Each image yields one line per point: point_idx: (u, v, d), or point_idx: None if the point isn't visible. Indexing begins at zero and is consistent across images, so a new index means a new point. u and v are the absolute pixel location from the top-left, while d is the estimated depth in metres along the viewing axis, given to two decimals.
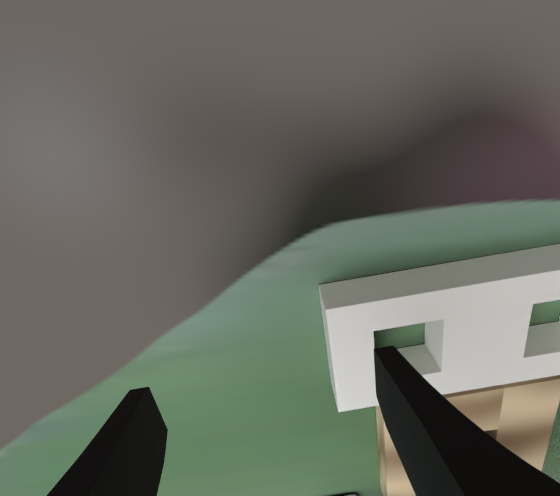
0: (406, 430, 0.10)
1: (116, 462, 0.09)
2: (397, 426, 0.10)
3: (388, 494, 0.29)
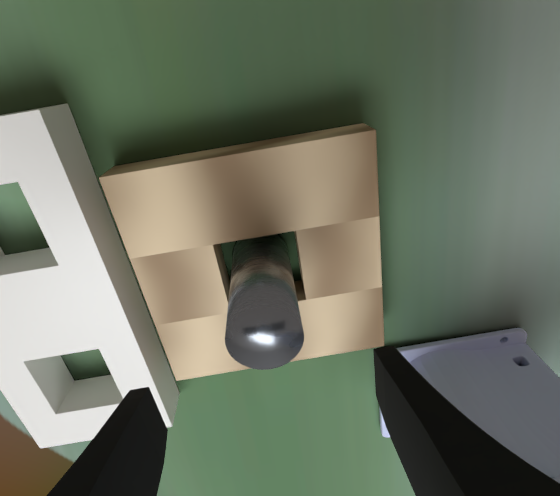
0: (406, 430, 0.10)
1: (116, 462, 0.09)
2: (397, 426, 0.10)
3: (342, 351, 0.21)
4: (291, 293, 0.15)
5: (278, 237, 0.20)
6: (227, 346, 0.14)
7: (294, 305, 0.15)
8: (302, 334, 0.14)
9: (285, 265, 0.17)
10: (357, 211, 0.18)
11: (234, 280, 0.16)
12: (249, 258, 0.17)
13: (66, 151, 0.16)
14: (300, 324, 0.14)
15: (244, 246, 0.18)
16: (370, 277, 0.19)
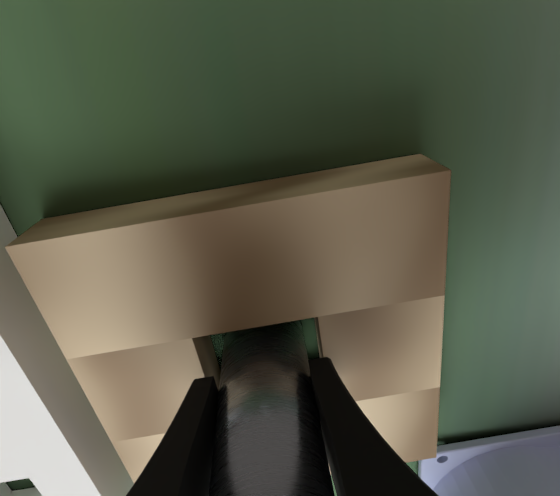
0: (328, 443, 0.10)
1: (197, 448, 0.09)
2: (325, 438, 0.10)
3: None
4: (317, 441, 0.09)
5: None
6: None
7: (323, 474, 0.09)
8: None
9: (303, 373, 0.11)
10: (412, 289, 0.11)
11: (223, 407, 0.10)
12: (246, 364, 0.11)
13: None
14: None
15: (241, 335, 0.12)
16: (424, 375, 0.13)
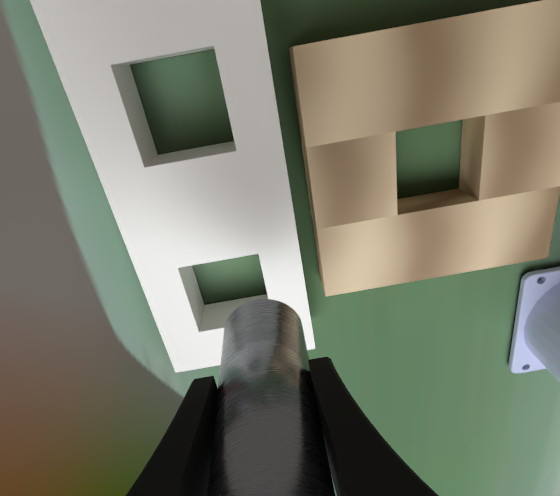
0: (328, 443, 0.10)
1: (197, 448, 0.09)
2: (325, 438, 0.10)
3: (503, 264, 0.20)
4: (318, 438, 0.09)
5: (291, 311, 0.14)
6: None
7: (325, 472, 0.09)
8: None
9: (304, 371, 0.11)
10: (554, 92, 0.16)
11: (224, 401, 0.10)
12: (249, 359, 0.11)
13: None
14: None
15: (242, 331, 0.12)
16: (551, 174, 0.18)
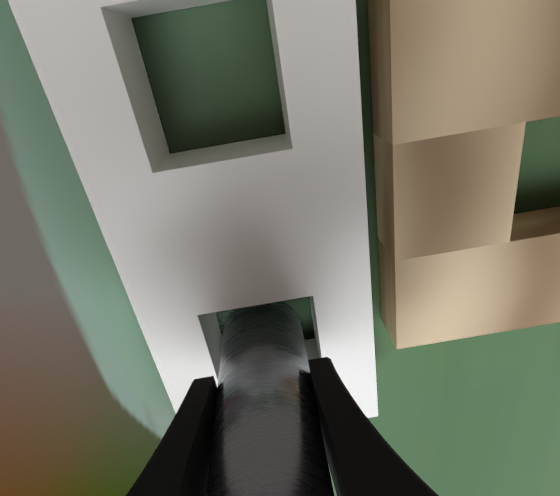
0: (328, 443, 0.10)
1: (197, 448, 0.09)
2: (325, 438, 0.10)
3: None
4: (318, 439, 0.09)
5: (290, 311, 0.14)
6: None
7: (324, 473, 0.09)
8: None
9: (303, 371, 0.11)
10: None
11: (223, 401, 0.10)
12: (248, 359, 0.11)
13: None
14: None
15: (241, 331, 0.12)
16: None
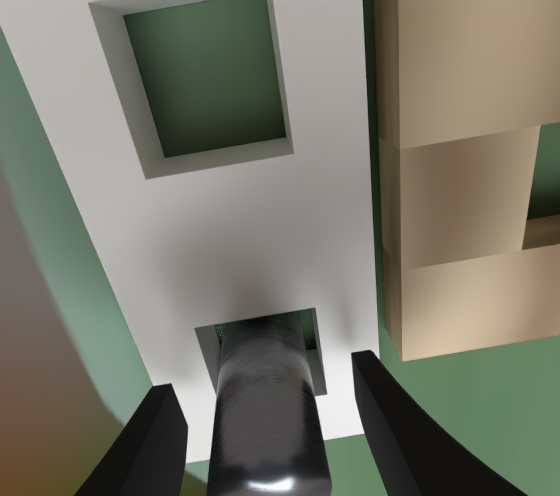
0: (379, 434, 0.10)
1: (144, 457, 0.09)
2: (372, 430, 0.10)
3: None
4: (312, 405, 0.10)
5: None
6: None
7: (317, 433, 0.10)
8: (329, 486, 0.09)
9: (299, 348, 0.12)
10: None
11: (225, 373, 0.11)
12: (248, 337, 0.12)
13: None
14: (328, 473, 0.09)
15: None
16: None
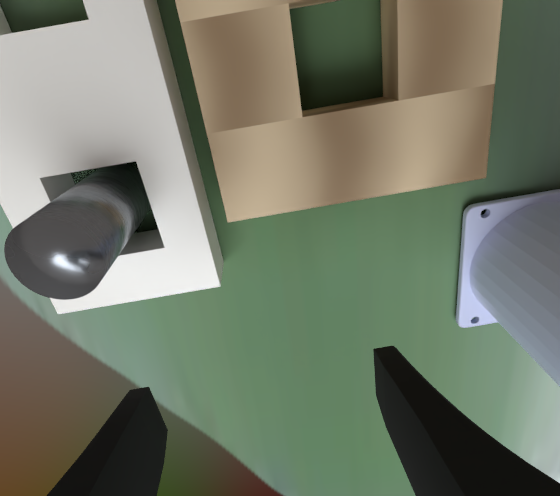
0: (406, 430, 0.10)
1: (116, 462, 0.09)
2: (397, 426, 0.10)
3: (434, 184, 0.17)
4: (108, 215, 0.13)
5: (137, 172, 0.18)
6: (10, 266, 0.12)
7: (99, 225, 0.13)
8: (100, 257, 0.12)
9: (123, 193, 0.15)
10: None
11: None
12: (80, 182, 0.15)
13: None
14: (96, 244, 0.12)
15: None
16: (482, 67, 0.15)
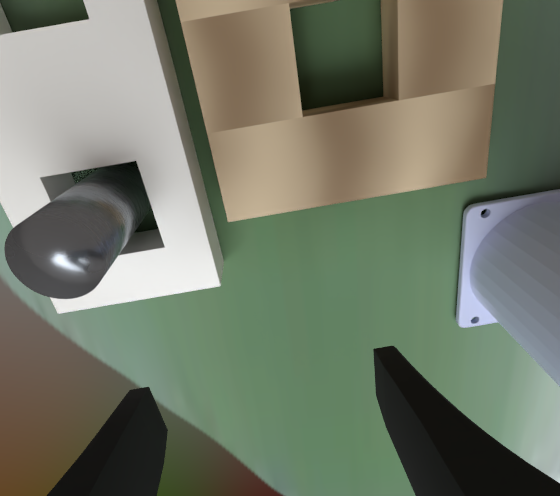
0: (406, 430, 0.10)
1: (116, 462, 0.09)
2: (397, 426, 0.10)
3: (434, 184, 0.17)
4: (108, 215, 0.13)
5: (138, 171, 0.18)
6: (10, 266, 0.12)
7: (100, 225, 0.13)
8: (100, 256, 0.12)
9: (123, 193, 0.15)
10: None
11: None
12: (80, 182, 0.15)
13: None
14: (96, 243, 0.12)
15: (88, 175, 0.16)
16: (482, 67, 0.15)
